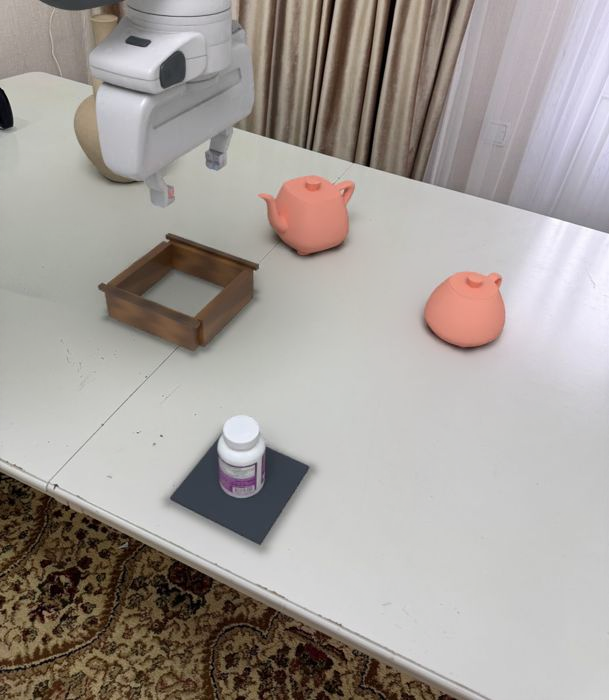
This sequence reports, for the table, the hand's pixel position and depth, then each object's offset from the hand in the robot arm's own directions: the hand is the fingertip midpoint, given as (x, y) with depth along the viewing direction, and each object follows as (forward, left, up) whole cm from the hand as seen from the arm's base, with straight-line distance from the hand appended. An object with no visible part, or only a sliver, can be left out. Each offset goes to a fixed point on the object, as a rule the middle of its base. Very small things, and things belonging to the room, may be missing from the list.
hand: (191, 184), depth 64 cm
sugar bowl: (+27, +33, -31) cm, 53 cm away
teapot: (-6, +42, -31) cm, 53 cm away
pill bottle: (+12, -10, -31) cm, 34 cm away
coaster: (+12, -10, -31) cm, 35 cm away
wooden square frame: (-14, +15, -31) cm, 37 cm away
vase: (-49, +44, -31) cm, 73 cm away
